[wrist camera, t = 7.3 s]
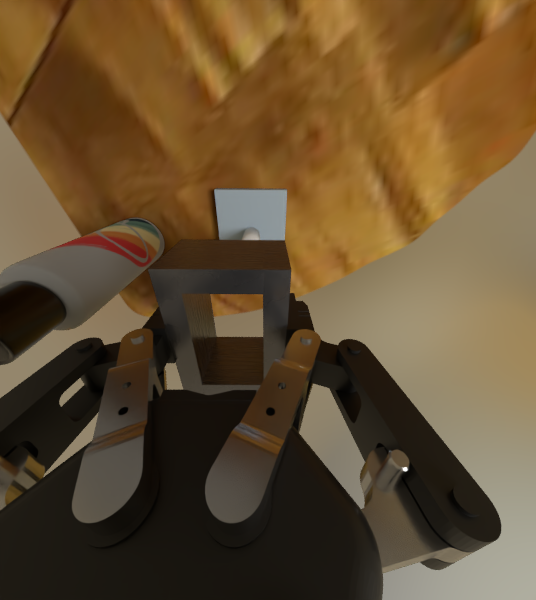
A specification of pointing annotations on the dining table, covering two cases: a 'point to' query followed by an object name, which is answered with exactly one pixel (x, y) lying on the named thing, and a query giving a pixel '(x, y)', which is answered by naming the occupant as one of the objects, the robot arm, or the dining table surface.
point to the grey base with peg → (251, 213)
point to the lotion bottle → (71, 282)
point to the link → (199, 315)
